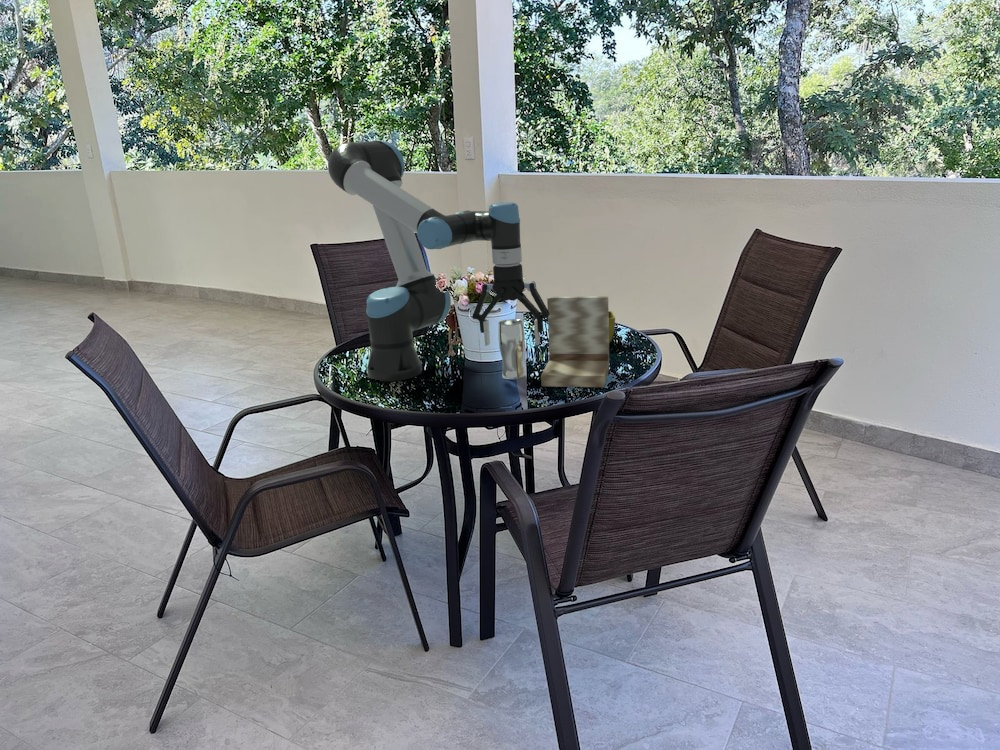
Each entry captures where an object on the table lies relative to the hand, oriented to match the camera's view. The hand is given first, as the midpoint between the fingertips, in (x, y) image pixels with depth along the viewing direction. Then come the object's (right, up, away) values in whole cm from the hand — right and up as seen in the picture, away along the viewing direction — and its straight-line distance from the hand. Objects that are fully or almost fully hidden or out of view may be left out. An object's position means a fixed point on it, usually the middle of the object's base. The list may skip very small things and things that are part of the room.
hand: (512, 344), depth 202 cm
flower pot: (+27, +1, +29) cm, 40 cm away
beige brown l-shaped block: (+17, -9, -2) cm, 19 cm away
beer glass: (0, -9, +3) cm, 9 cm away
